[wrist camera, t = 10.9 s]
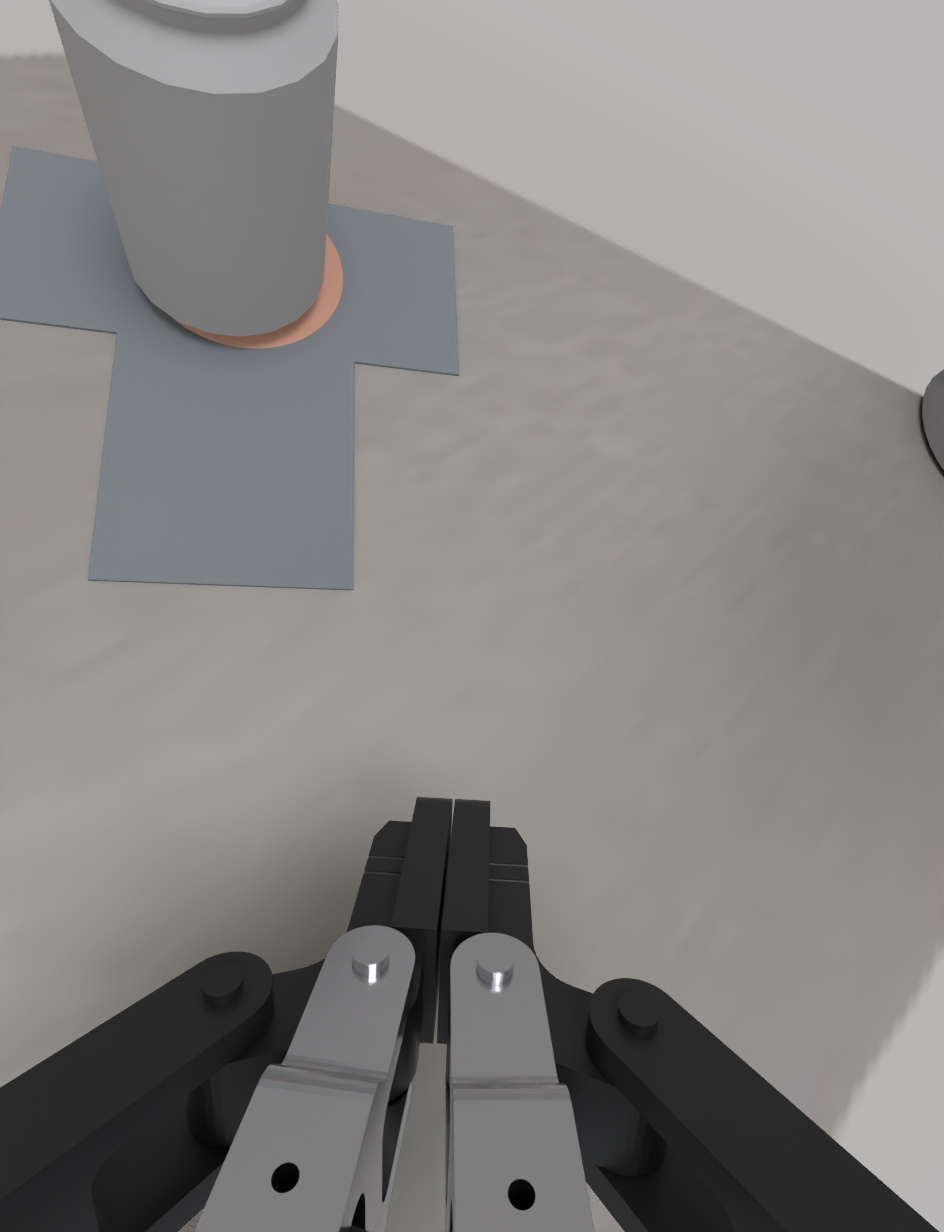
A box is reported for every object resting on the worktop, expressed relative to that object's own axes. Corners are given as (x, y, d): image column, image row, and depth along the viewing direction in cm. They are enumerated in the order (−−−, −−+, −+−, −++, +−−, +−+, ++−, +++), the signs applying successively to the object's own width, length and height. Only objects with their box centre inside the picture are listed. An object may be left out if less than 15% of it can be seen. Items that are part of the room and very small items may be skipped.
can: (194, 169, 28) (130, -248, 17) (353, 258, 29) (392, -84, 18) (90, 288, 26) (-66, -112, 14) (269, 383, 26) (252, 73, 15)
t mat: (451, 231, 31) (452, 225, 31) (466, 595, 26) (468, 593, 26) (15, 153, 27) (12, 145, 26) (-62, 576, 22) (-67, 573, 22)
